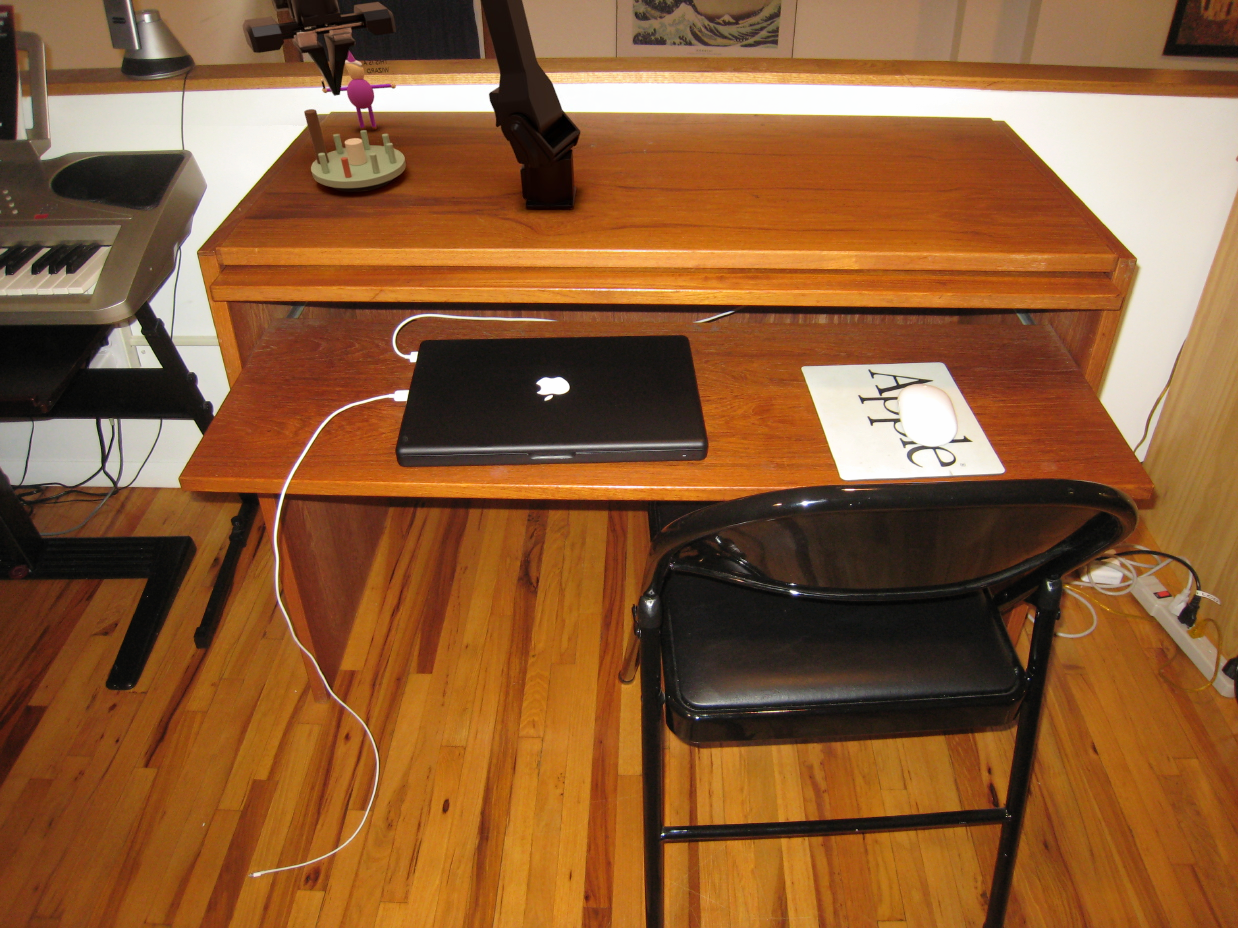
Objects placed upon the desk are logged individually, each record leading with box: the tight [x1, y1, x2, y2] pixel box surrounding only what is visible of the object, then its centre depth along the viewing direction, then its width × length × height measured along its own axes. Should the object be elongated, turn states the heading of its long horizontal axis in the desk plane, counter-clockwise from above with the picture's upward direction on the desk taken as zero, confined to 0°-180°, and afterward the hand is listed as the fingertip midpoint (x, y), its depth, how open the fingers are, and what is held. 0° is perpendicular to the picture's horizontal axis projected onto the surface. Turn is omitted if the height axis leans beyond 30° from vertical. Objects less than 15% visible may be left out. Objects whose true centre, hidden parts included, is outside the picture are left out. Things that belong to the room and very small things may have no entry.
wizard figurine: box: [320, 50, 397, 131], centre depth 128 cm, size 11×3×12 cm, turn 99°
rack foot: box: [332, 179, 393, 193], centre depth 117 cm, size 9×9×1 cm
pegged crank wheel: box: [303, 108, 407, 189], centre depth 114 cm, size 13×13×8 cm
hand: (336, 94), depth 114 cm, fingers closed
